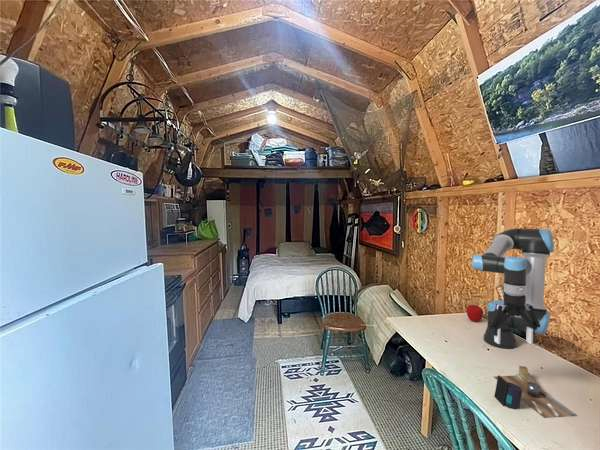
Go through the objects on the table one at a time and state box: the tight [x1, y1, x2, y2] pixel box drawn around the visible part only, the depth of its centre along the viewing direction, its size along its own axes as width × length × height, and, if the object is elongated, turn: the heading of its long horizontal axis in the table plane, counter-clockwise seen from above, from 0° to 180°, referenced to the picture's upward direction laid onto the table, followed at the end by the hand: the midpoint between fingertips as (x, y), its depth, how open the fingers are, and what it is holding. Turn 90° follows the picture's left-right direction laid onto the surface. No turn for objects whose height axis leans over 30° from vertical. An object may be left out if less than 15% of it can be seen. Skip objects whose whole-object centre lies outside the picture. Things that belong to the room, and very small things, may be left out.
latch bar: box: [518, 365, 541, 397], centre depth 119 cm, size 15×4×4 cm, turn 158°
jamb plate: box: [493, 373, 577, 419], centre depth 115 cm, size 12×25×2 cm, turn 3°
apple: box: [465, 304, 484, 323], centre depth 190 cm, size 10×10×11 cm
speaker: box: [493, 374, 523, 410], centre depth 109 cm, size 8×6×10 cm
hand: (513, 342), depth 122 cm, fingers open, 12 cm apart
